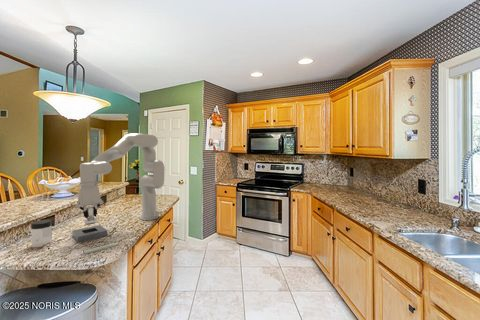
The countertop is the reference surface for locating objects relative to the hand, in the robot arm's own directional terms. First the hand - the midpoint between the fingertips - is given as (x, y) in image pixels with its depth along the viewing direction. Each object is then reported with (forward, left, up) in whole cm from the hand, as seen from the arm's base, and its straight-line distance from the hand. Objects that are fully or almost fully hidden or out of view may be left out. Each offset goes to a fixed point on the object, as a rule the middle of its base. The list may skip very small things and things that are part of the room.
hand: (90, 216), depth 130 cm
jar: (+21, -7, -12) cm, 25 cm away
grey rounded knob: (0, 0, -4) cm, 4 cm away
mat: (+1, +17, -12) cm, 21 cm away
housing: (+1, 0, -12) cm, 12 cm away
